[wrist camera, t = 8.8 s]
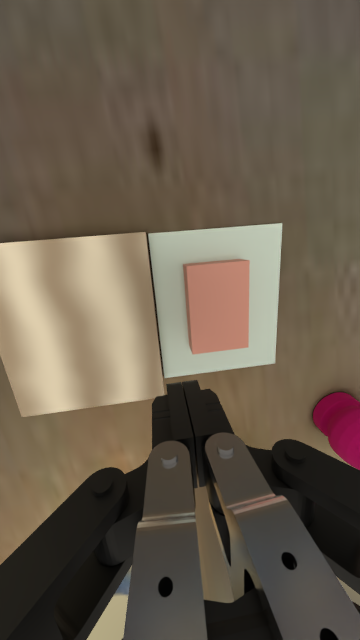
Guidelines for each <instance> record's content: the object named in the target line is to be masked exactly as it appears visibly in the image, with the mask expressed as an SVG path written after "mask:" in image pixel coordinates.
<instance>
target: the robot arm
mask: <svg viewBox="0 0 360 640" xmlns="http://www.w3.org/2000/svg"><path fill="white" fill-rule="evenodd" d="M166 385H167V394H168V395H163V396H156V398H155V400H154V402H153V403H152V451H151V453H150V455H149V458H148V460H147V461H146V462H145V463H144V464H143V465H141V466H140V467H138V468H137V469H135V470H133V471H131V472H128V473H126V474H124V473H123V472H122V471H121V470H120V469H118V468H113V467H109V468H104V469H101V470H98V471H97V472H95V473H93V474H92V475H91V476H90V477H89V478H87V479H86V480H85V481H84V482H83V483H82V484H81V485H80V486H79V487H78V488H77V489H76V490H75V491H74V492H73V493H72V494H71V495H70V496H69V497H68V498H67V499H66V500H65V501H64V502H63V503H62V504H61V505H60V506H59V507H58V508H57V509H56V510H55V511H54V512H53V513H52V514H51V515H50V516H49V517H48V518H47V519H46V520H45V521H44V522H43V523H42V524H41V525H40V526H39V527H38V528H37V529H36V530H35V531H34V532H33V533H32V534H31V535H30V536H29V537H28V538H27V539H26V540H25V541H24V542H23V543H22V544H21V545H20V546H19V547H18V548H17V549H16V550H15V551H14V552H13V553H12V554H11V555H10V556H9V557H8V558H7V559H6V560H5V561H4V562H3V563H2V564H1V565H0V640H86V639H87V638H88V636H89V634H90V633H91V631H92V629H93V628H94V626H95V624H96V623H97V621H98V619H99V618H100V616H101V615H102V613H103V611H104V610H105V608H106V607H107V605H108V603H109V602H110V600H111V598H112V597H113V595H114V593H115V592H116V590H117V589H118V587H119V585H120V584H121V582H122V580H123V579H124V577H125V575H126V574H127V572H128V570H129V569H130V567H131V565H132V570H131V579H130V587H129V596H128V604H127V612H126V621H125V629H124V638H123V639H122V640H360V606H359V605H357V604H356V603H354V602H352V601H351V600H350V598H349V596H348V595H347V593H346V591H345V590H344V588H343V587H342V585H341V584H340V582H339V580H338V579H337V577H338V578H339V579H340V580H342V581H343V582H345V583H346V584H347V585H348V586H349V587H351V588H352V589H353V590H354V591H356V592H357V593H358V594H360V470H358V469H356V468H354V467H352V466H349V465H347V464H345V463H343V462H341V461H339V460H337V459H335V458H333V457H331V456H329V455H327V454H325V453H323V452H321V451H318V450H316V449H314V448H312V447H310V446H308V445H306V444H304V443H302V442H299V441H296V440H292V439H284V440H280V441H278V442H276V443H275V444H274V446H273V448H272V450H264V449H257V448H252V447H249V446H247V445H245V444H244V442H243V441H242V440H241V439H240V438H239V437H238V436H236V435H235V434H234V432H233V430H232V428H231V426H230V423H229V421H228V419H227V417H226V415H225V412H224V410H223V408H222V406H221V404H220V401H219V399H218V397H217V395H216V394H215V393H214V392H213V391H211V390H210V389H205V390H200V387H199V384H198V381H197V380H193V381H186V382H182V384H181V382H179V383H171V384H166ZM336 576H337V577H336Z"/></svg>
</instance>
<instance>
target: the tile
mask: <svg viewBox="0 0 360 640" xmlns="http://www.w3.org/2000/svg"><path fill="white" fill-rule="evenodd" d="M249 264H250V260H244V259H232V260H222V261H211V262H200V263H189V264H183V271H184V285H185V298H186V312H187V325H188V339H189V346H190V349H191V351H192V354H201V353H209V352H217V351H225V350H232V349H240V348H248V346H249Z"/></svg>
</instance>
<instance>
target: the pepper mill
mask: <svg viewBox="0 0 360 640" xmlns="http://www.w3.org/2000/svg"><path fill="white" fill-rule="evenodd" d="M313 421H314V423H315V425H316V426H317V427H318V428H319V429H320V430H321V431H322V432H323V434H325V435H326V436H328V440H329V443H330V446H331V447H332V449H333V450H334V451H335V452H336V453H337V454H338V455H339V456H340V457H341V458H342V459H343V460H344V461H346V462H347V463H348V464H350V465H351V466H353V467H355V468H357V469H358V470H360V402H359V401H357V400H356V399H355V398H353V397H352V396H351V395H349V394H347V393H342V392H337V393H333V394H329V395H328V396H326V397H324V398H323V399H322V400H321V401H320V402H319V403H318V404H317V405H316V407H315V409H314V412H313Z"/></svg>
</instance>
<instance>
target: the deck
mask: <svg viewBox="0 0 360 640" xmlns="http://www.w3.org/2000/svg"><path fill="white" fill-rule="evenodd" d="M0 355H1V358H2V361H3V364H4V367H5V370H6V373H7V376H8V378H9V381H10V384H11V387H12V390H13V393H14V396H15V398H16V401H17V404H18V407H19V410H20V413H21V416H22V417H26V416H33V415H40V414H48V413H55V412H62V411H69V410H76V409H83V408H90V407H97V406H104V405H111V404H118V403H126V402H133V401H140V400H147V399H154V398H156V396H163V395H164V386H163V375H162V367H161V358H160V349H159V341H158V332H157V323H156V315H155V306H154V297H153V289H152V280H151V272H150V263H149V254H148V246H147V237H146V232H139V233H126V234H113V235H101V236H88V237H75V238H62V239H49V240H36V241H23V242H10V243H0Z"/></svg>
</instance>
